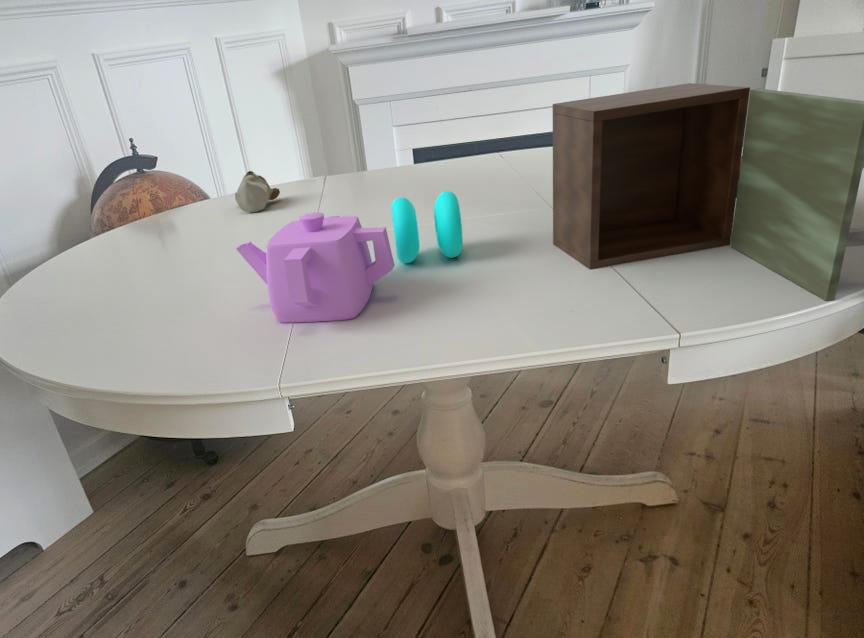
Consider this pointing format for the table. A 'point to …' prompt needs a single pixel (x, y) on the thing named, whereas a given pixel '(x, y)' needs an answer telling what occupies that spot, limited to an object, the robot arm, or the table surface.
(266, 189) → the ceramic sculpture
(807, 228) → the cupboard door
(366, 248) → the teakettle
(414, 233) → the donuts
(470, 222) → the table surface
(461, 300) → the table surface
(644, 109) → the cupboard
